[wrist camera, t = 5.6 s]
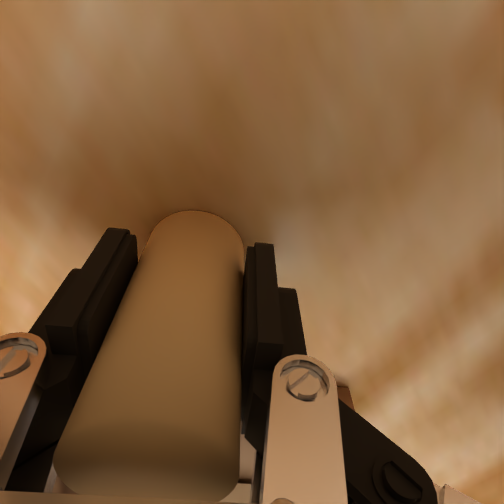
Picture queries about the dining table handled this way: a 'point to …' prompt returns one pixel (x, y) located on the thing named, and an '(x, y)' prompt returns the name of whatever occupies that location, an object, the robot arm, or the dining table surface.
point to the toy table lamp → (167, 375)
